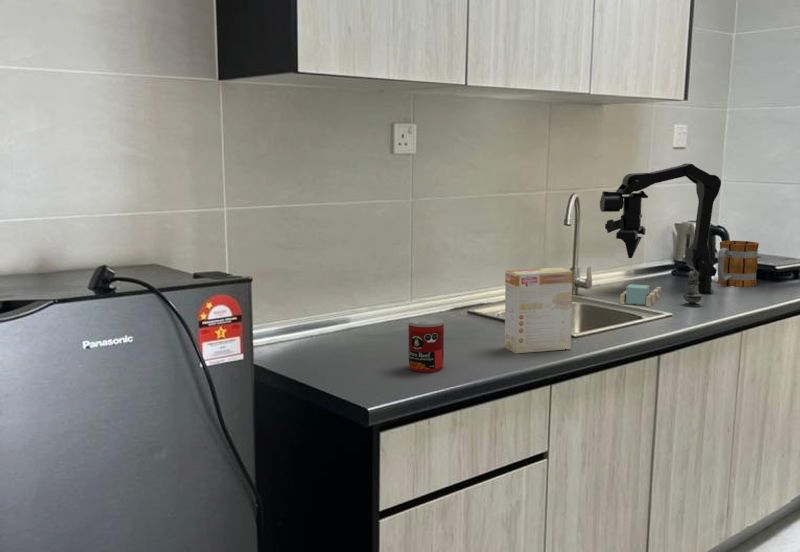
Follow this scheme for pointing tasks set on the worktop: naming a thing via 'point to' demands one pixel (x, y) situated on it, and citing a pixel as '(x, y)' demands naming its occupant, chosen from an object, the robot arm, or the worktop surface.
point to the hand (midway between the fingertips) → (630, 258)
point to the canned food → (426, 344)
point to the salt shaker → (692, 290)
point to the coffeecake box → (538, 310)
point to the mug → (737, 263)
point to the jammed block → (637, 294)
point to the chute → (649, 299)
